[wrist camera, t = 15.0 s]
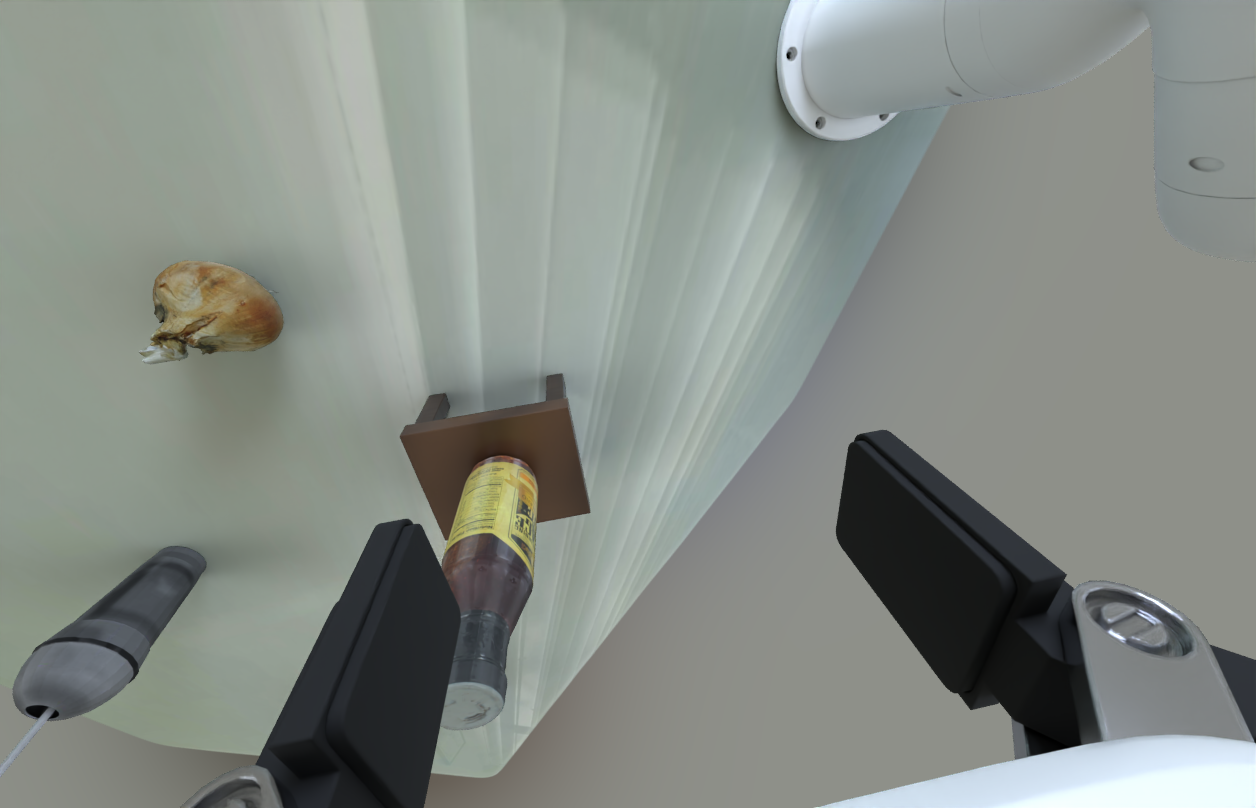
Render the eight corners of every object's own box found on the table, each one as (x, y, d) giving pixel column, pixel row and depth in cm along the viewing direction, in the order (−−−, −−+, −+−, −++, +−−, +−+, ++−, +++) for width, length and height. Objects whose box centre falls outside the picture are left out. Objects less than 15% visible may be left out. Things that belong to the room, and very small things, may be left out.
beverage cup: (215, 539, 48) (25, 752, 31) (226, 586, 52) (59, 803, 34) (132, 534, 47) (-118, 756, 29) (148, 583, 50) (-69, 810, 32)
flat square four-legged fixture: (565, 368, 45) (568, 407, 38) (585, 464, 51) (590, 513, 44) (423, 392, 44) (399, 436, 37) (460, 487, 50) (445, 540, 43)
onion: (302, 350, 40) (250, 390, 33) (196, 332, 38) (117, 371, 31) (297, 266, 37) (238, 290, 30) (181, 242, 35) (89, 262, 28)
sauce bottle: (538, 505, 42) (527, 743, 25) (468, 506, 41) (408, 755, 24) (539, 447, 39) (528, 671, 22) (464, 446, 38) (391, 682, 21)
